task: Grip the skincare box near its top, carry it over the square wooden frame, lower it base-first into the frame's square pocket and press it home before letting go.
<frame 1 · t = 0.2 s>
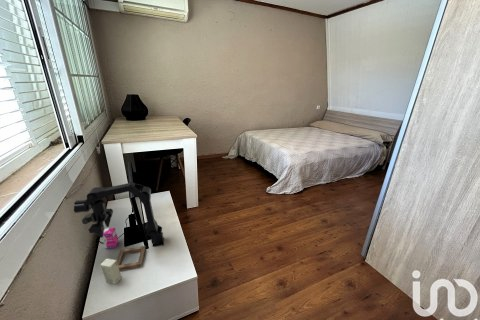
hand: (104, 231, 123), 14 cm above the table, fingers open, 9 cm apart
skincare box: (113, 280, 110), on the table
square wooden frame: (131, 259, 122), on the table
supplement box: (112, 245, 133), on the table
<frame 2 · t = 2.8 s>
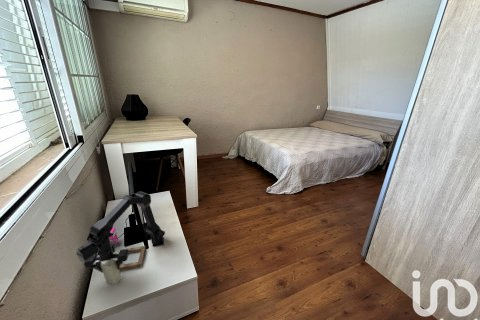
hand: (110, 270, 108), 7 cm above the table, fingers closed on skincare box, 7 cm apart
skincare box: (113, 280, 110), on the table, touching gripper
everything else where it was.
when the fingers open (7 cm above the table, at t = 8.2 s): skincare box stays where it is, resting in square wooden frame.
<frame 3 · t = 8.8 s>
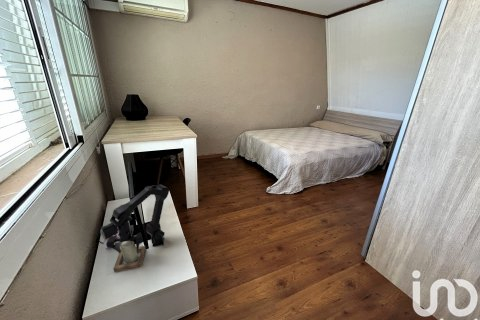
hand: (129, 250, 120), 7 cm above the table, fingers open, 9 cm apart
skincare box: (131, 259, 122), resting in square wooden frame
everything else where it was.
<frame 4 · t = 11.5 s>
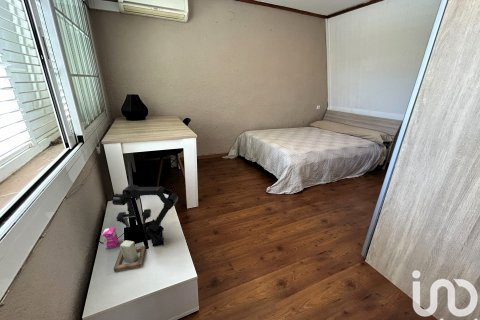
hand: (136, 226, 132), 12 cm above the table, fingers open, 9 cm apart
nothing on the table moved.
at the end: skincare box 0.1 cm off-centre on the square wooden frame, point 0.0 cm above the square wooden frame's base; skincare box tilted 0°; the gripper is holding nothing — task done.
